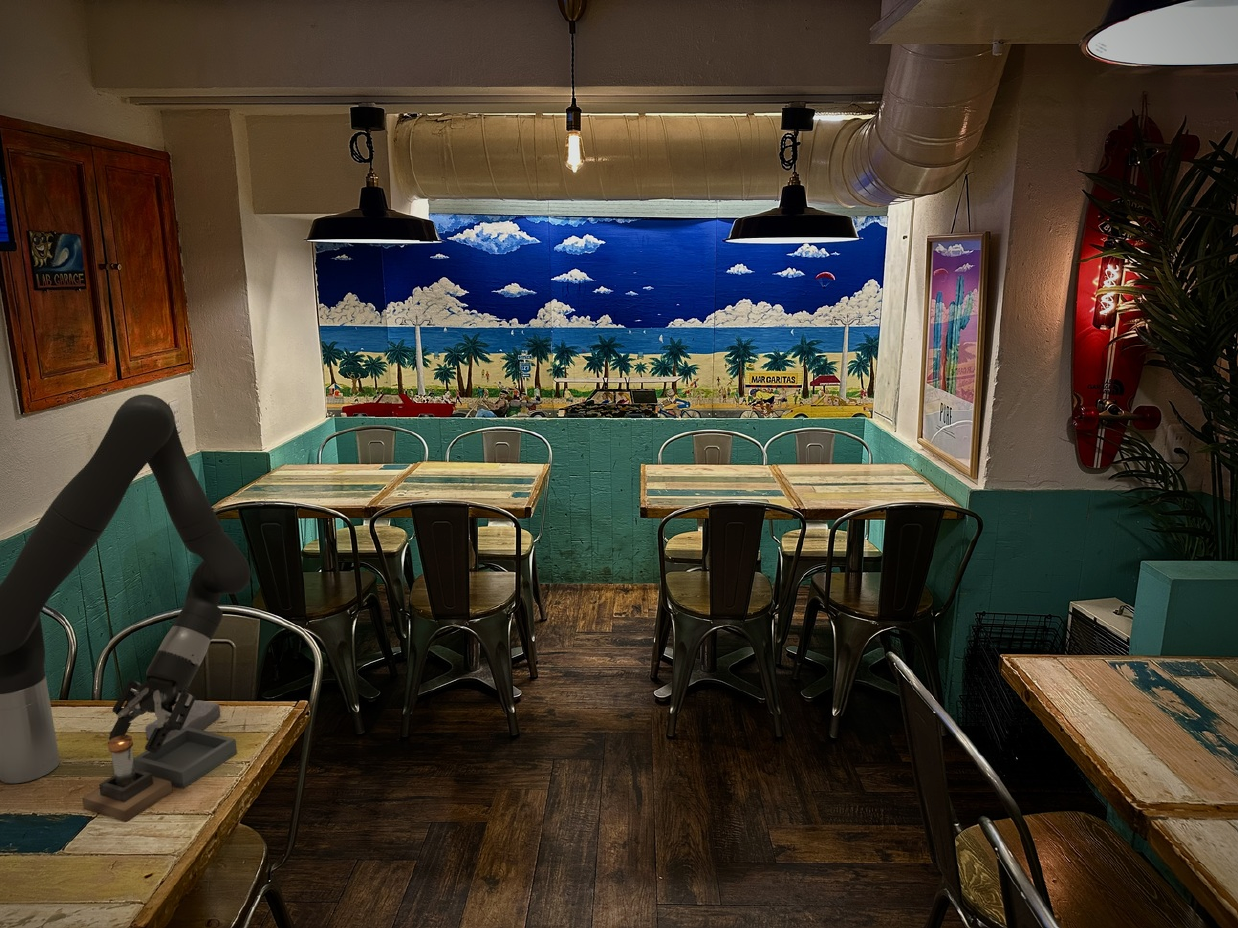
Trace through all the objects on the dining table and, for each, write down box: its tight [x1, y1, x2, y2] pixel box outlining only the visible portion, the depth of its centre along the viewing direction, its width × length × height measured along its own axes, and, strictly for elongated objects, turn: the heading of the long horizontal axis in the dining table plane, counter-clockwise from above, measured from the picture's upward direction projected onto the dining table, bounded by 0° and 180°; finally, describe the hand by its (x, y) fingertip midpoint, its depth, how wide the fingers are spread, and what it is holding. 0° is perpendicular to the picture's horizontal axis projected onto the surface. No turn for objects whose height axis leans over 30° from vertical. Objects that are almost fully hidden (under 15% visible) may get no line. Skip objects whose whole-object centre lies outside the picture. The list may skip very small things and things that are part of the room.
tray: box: [133, 727, 238, 789], centre depth 159 cm, size 12×12×3 cm
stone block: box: [145, 699, 221, 741], centre depth 172 cm, size 12×5×10 cm
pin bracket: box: [81, 769, 173, 822], centre depth 149 cm, size 10×9×4 cm
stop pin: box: [107, 734, 136, 788], centre depth 148 cm, size 4×4×9 cm
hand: (131, 746), depth 149 cm, fingers open, 8 cm apart
